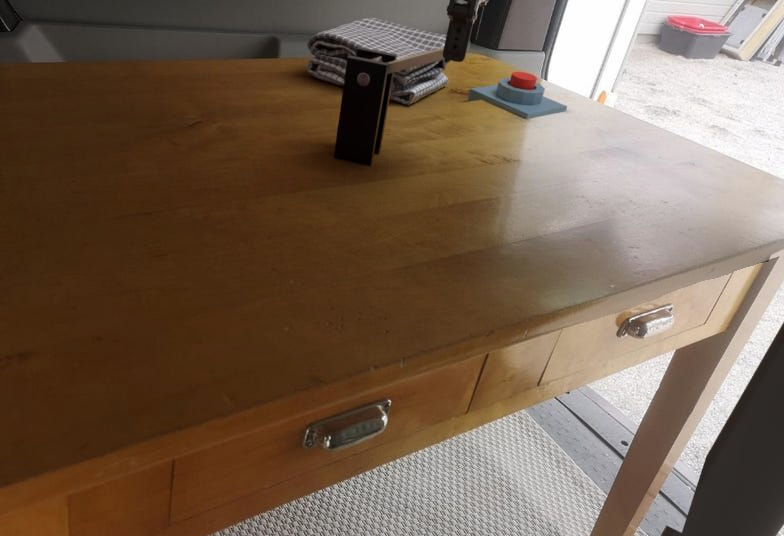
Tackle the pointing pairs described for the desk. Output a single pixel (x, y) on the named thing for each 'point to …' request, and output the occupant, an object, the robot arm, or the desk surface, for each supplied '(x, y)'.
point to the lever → (415, 60)
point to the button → (523, 80)
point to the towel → (383, 37)
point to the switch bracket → (364, 106)
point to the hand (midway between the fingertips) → (459, 50)
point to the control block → (517, 99)
